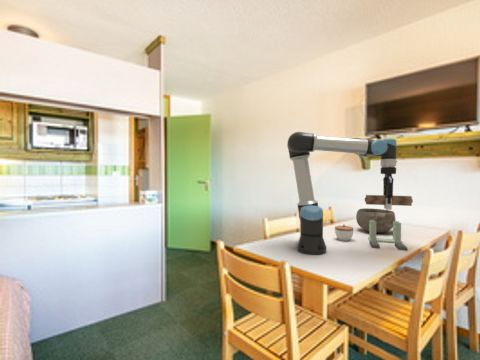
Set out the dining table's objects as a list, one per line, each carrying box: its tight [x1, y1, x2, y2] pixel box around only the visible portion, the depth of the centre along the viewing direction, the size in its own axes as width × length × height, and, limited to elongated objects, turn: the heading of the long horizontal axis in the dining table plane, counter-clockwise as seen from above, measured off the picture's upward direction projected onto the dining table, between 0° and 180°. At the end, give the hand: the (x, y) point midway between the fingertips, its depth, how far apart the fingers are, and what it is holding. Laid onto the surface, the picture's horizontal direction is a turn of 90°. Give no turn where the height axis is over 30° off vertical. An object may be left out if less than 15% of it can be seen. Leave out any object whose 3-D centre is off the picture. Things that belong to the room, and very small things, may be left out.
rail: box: [364, 194, 414, 207], centre depth 148 cm, size 23×4×5 cm, turn 72°
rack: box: [367, 220, 403, 244], centre depth 160 cm, size 17×6×12 cm, turn 72°
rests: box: [368, 240, 408, 251], centre depth 149 cm, size 17×9×2 cm, turn 72°
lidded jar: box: [334, 224, 354, 242], centre depth 165 cm, size 11×11×9 cm
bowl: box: [355, 207, 396, 234], centre depth 185 cm, size 24×24×15 cm
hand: (387, 209), depth 148 cm, fingers closed on rail, 3 cm apart
